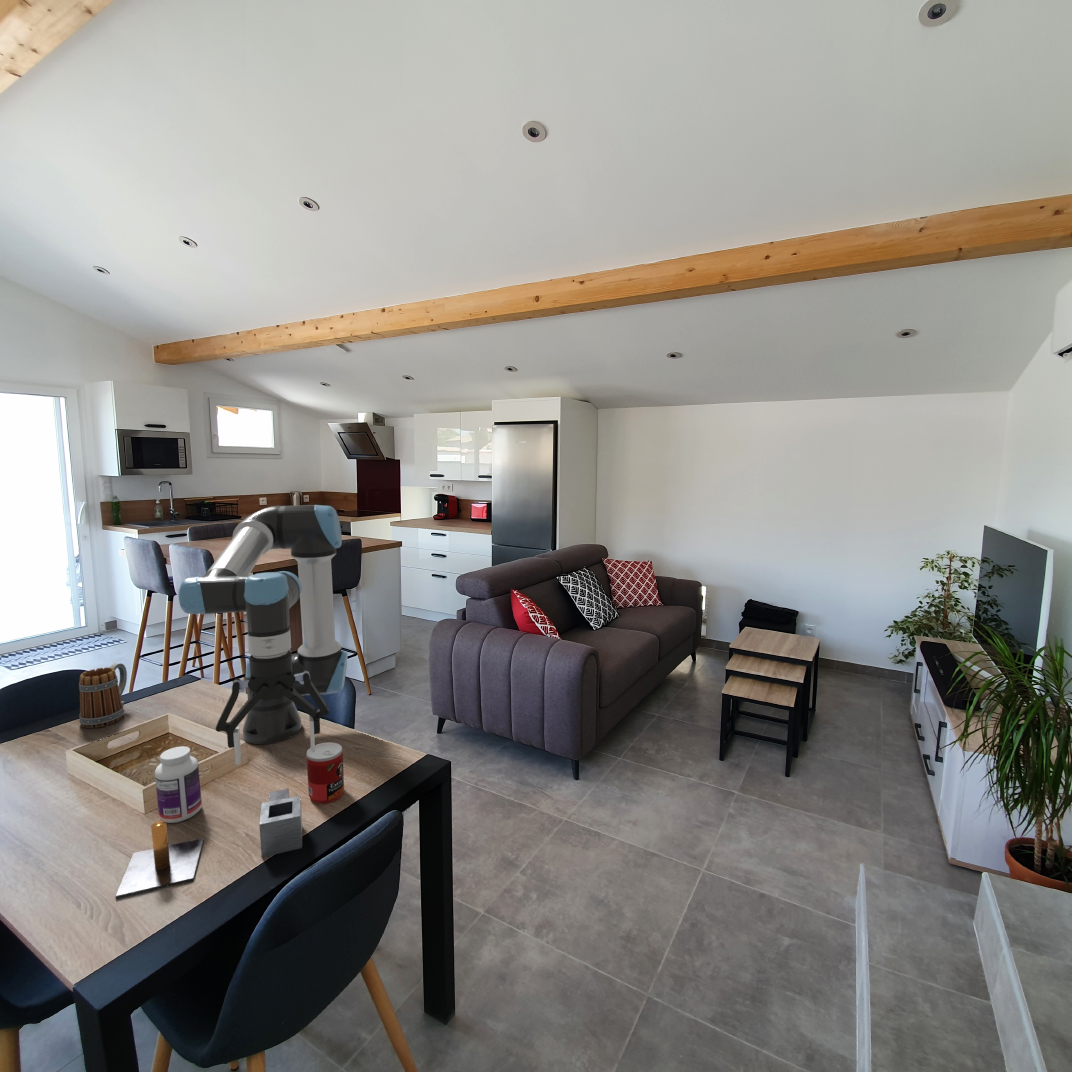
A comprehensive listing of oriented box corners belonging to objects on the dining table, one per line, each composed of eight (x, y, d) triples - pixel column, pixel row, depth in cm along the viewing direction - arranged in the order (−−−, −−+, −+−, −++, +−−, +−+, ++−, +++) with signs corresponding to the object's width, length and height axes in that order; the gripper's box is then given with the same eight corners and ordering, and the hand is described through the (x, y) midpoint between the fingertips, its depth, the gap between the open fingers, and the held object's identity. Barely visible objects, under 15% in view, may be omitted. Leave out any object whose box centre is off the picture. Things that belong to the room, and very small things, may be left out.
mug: (106, 729, 165) (101, 679, 163) (70, 729, 165) (64, 679, 163) (144, 705, 180) (140, 659, 178) (111, 705, 180) (106, 659, 178)
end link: (263, 834, 120) (261, 803, 119) (302, 826, 122) (300, 795, 121) (261, 857, 113) (259, 824, 112) (302, 847, 116) (300, 815, 115)
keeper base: (133, 855, 113) (129, 813, 112) (203, 840, 118) (200, 800, 116) (115, 899, 102) (110, 852, 101) (193, 880, 106) (189, 836, 105)
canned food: (333, 806, 129) (331, 760, 128) (301, 801, 131) (298, 756, 129) (350, 787, 137) (349, 743, 135) (320, 783, 138) (318, 740, 137)
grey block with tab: (270, 804, 130) (269, 792, 129) (289, 800, 131) (288, 788, 131) (267, 831, 120) (266, 818, 120) (288, 827, 122) (287, 814, 122)
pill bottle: (196, 798, 132) (191, 739, 130) (206, 814, 126) (201, 752, 124) (155, 813, 126) (149, 752, 124) (164, 830, 121) (158, 766, 119)
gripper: (193, 667, 104) (202, 777, 107) (338, 651, 113) (343, 752, 116) (200, 654, 111) (208, 757, 114) (336, 639, 120) (341, 735, 123)
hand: (276, 755), depth 115 cm, fingers open, 13 cm apart
